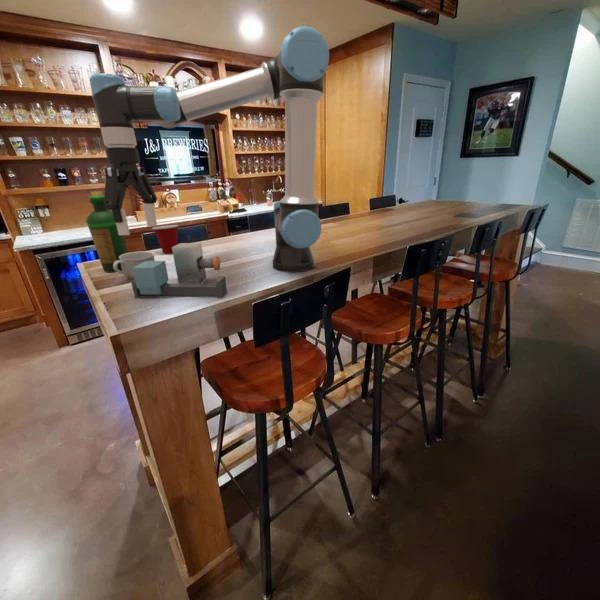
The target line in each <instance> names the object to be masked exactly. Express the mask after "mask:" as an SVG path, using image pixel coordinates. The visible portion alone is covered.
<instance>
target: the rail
mask: <svg viewBox="0 0 600 600" xmlns="http://www.w3.org/2000/svg"><path fill="white" fill-rule="evenodd" d="M130 283H131V288H132V290H133V295H134V298H135V299H139V298H142V297H144V298H146V297H150V298H151V297H156V298H158V297H162V298H163V297H164V298H165V297H169V298H170V297H171V298H173V297H177V298H179V297H182V298H183V297H184V298H185V297H187V298H191V297H192V298H194V297H195V298H197V297H199V298H200V297H201V298H204V297H206V298H216V297H217V299H223V298H224V296H225V295H226V294H227V293H228V287H227V280H226V275H220V276H219V277H218V278H217V279H216V280H215V283H214V282H213V283H211V282H210V283H208V282H205V283H204V282H202V283H178V282H177V283H173V282H172V283H170V282H168V283H164V284H163V285H161V286H160V288H161V292H162V293H161V294H140V290H139V288H137V286H136V282H135V279H132V280H131V281H130Z"/></svg>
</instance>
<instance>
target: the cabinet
mask: <svg viewBox="0 0 600 600" xmlns="http://www.w3.org/2000/svg"><path fill="white" fill-rule="evenodd" d="M172 251H173V254H172V256H173V260H174V261H173V262H174V265H175V266H174V267H175V271H176V277H177V283H204V281H206V280H207V273H206V268H200V267H199V259H204V254H203V253H204V252H203V247H202V243H201V242H183V243H182V242H180V243H177V245H176V246H174V247H172Z"/></svg>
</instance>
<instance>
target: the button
mask: <svg viewBox="0 0 600 600" xmlns="http://www.w3.org/2000/svg"><path fill="white" fill-rule="evenodd" d="M220 259H221V258H220V257H219V256H218V255H217V256H213V258H203V259H199V267H200V268H205V269H214V271H220V269H221V260H220Z"/></svg>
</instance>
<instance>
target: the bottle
mask: <svg viewBox="0 0 600 600" xmlns="http://www.w3.org/2000/svg"><path fill="white" fill-rule="evenodd" d="M90 194H91V195H89V204H92V207H93V210H94V211H92V212H91V213H89V215H88V216H87V218H86V220H85V221H86V225H87V227H88V229H89V233H90V236H91V239H92V241H93V244H94V246H95V250H96V252H97V253H96V254H97V255H98V259H99V261H100V263H101V266H102V269H103V271H104V272H108V273H117V272H116V271H115V270H114V269H113V264H114V262H115V261H117V260H120V259H119V256H120V255H122V254H125V253H127V248H126V242H125V238H124V235H119V234H118V230H117V226H116V223H115V220H114V216H113V212H112V210H108V209H107V208H105V207H104V196H105V194H103V192H102V191H101V190H99V191H91V192H90ZM117 268H118V269H119V270H120V271H122V267H121V264H120V263H119V264H118V265H117Z"/></svg>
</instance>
